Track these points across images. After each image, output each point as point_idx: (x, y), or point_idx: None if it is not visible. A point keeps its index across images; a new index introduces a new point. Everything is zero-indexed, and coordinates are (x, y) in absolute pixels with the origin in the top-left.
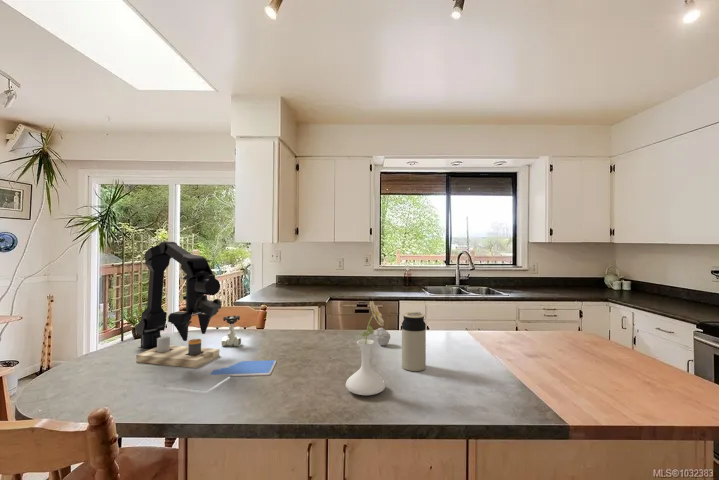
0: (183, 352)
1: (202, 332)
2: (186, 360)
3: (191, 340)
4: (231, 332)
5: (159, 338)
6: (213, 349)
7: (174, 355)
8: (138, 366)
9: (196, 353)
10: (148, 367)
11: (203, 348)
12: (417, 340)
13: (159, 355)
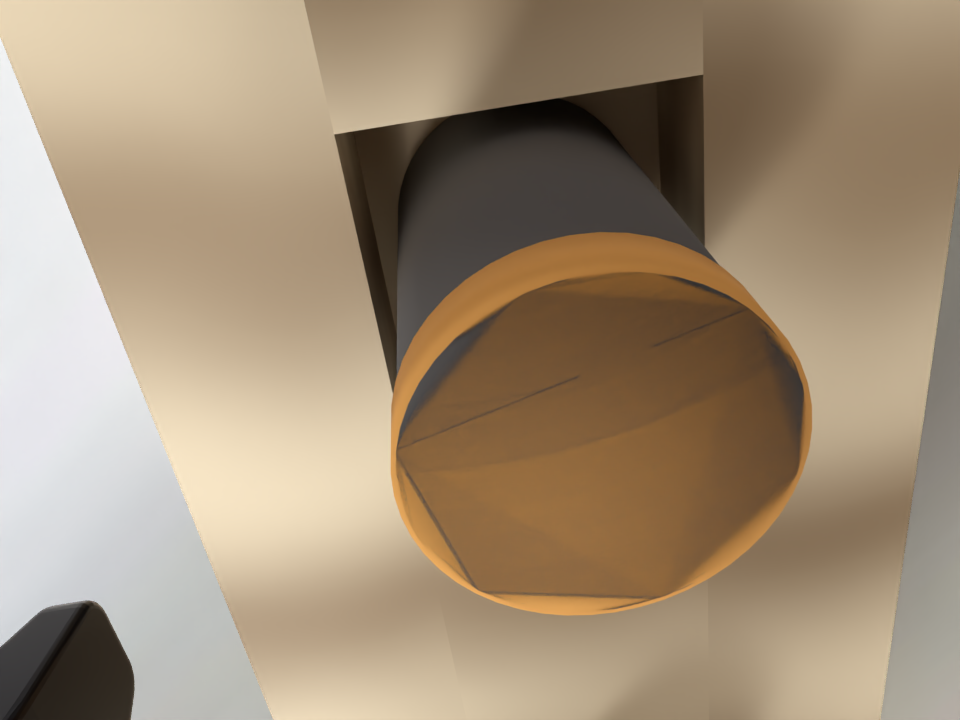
0: None
1: (114, 704)
2: (955, 83)
3: (639, 545)
4: None
5: None
6: (85, 63)
7: None
8: (883, 712)
9: (620, 157)
10: (899, 602)
11: (179, 373)
12: None
13: (824, 695)
